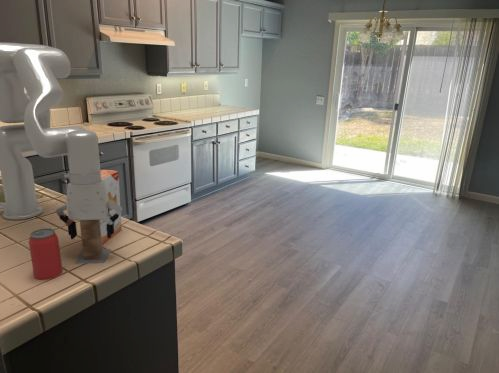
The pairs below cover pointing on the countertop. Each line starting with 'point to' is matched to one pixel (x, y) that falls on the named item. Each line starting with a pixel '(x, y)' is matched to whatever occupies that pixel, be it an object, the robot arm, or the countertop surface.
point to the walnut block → (91, 239)
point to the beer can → (45, 254)
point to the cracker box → (114, 196)
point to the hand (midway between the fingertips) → (92, 236)
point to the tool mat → (101, 260)
